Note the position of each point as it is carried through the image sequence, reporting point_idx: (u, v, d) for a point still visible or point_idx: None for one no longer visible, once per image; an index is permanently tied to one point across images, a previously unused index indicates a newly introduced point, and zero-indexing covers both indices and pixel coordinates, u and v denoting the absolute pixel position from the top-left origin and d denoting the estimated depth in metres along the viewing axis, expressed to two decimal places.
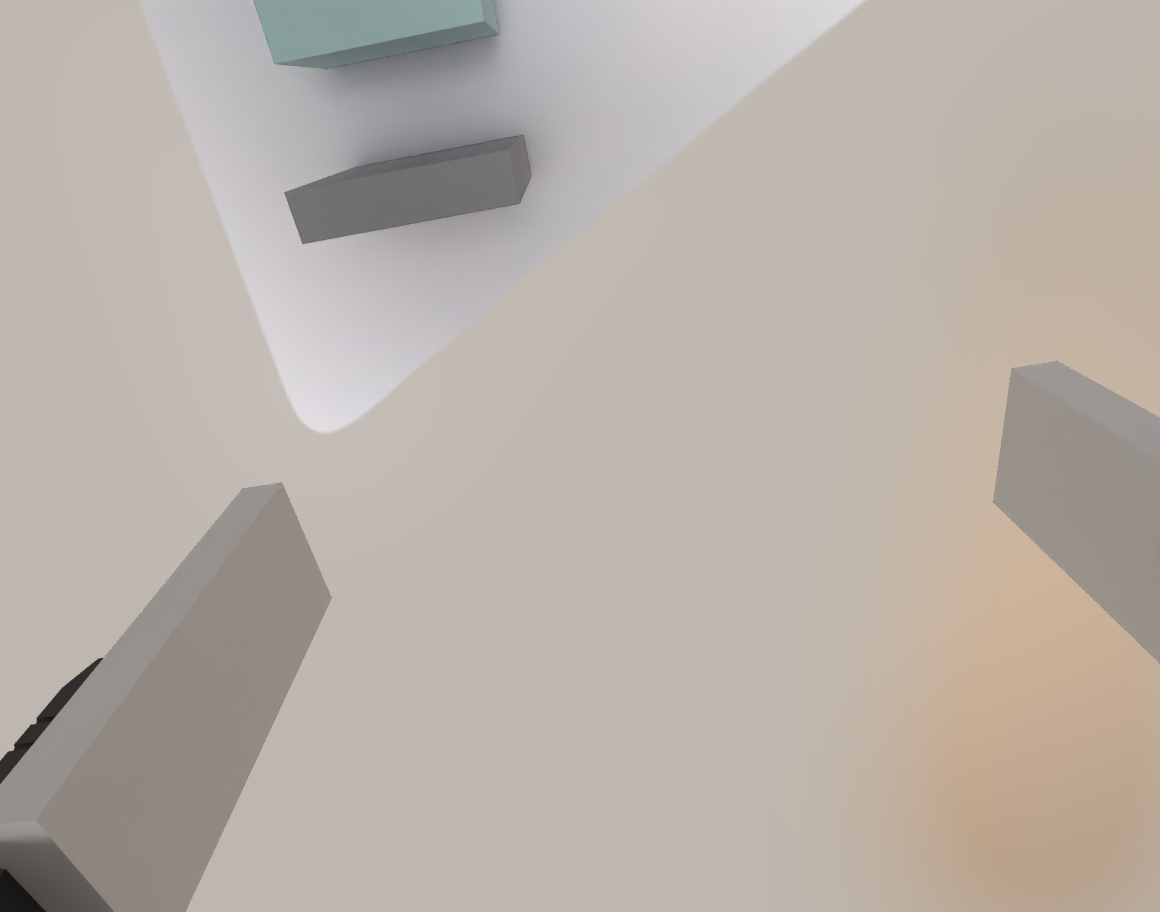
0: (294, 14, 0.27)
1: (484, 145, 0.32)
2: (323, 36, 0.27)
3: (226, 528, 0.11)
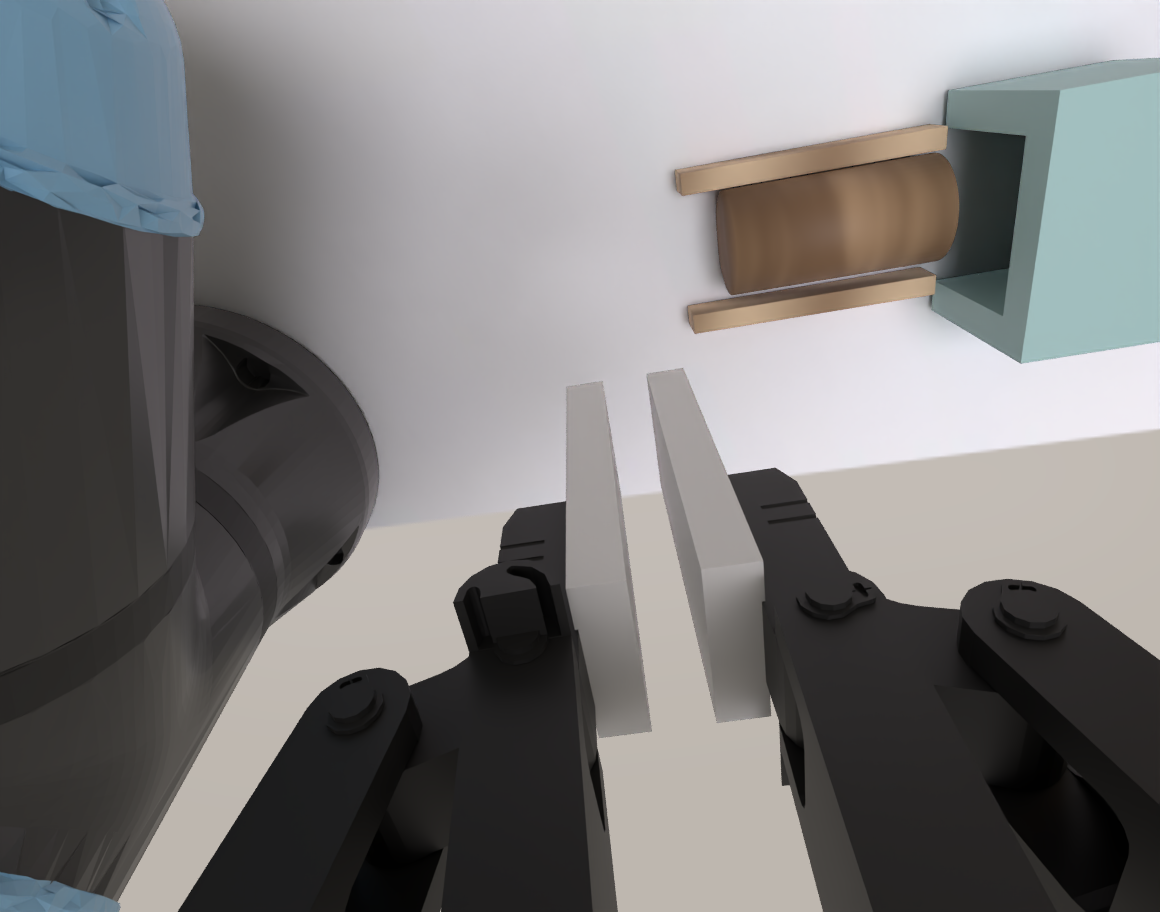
0: None
1: None
2: None
3: (583, 411, 0.13)
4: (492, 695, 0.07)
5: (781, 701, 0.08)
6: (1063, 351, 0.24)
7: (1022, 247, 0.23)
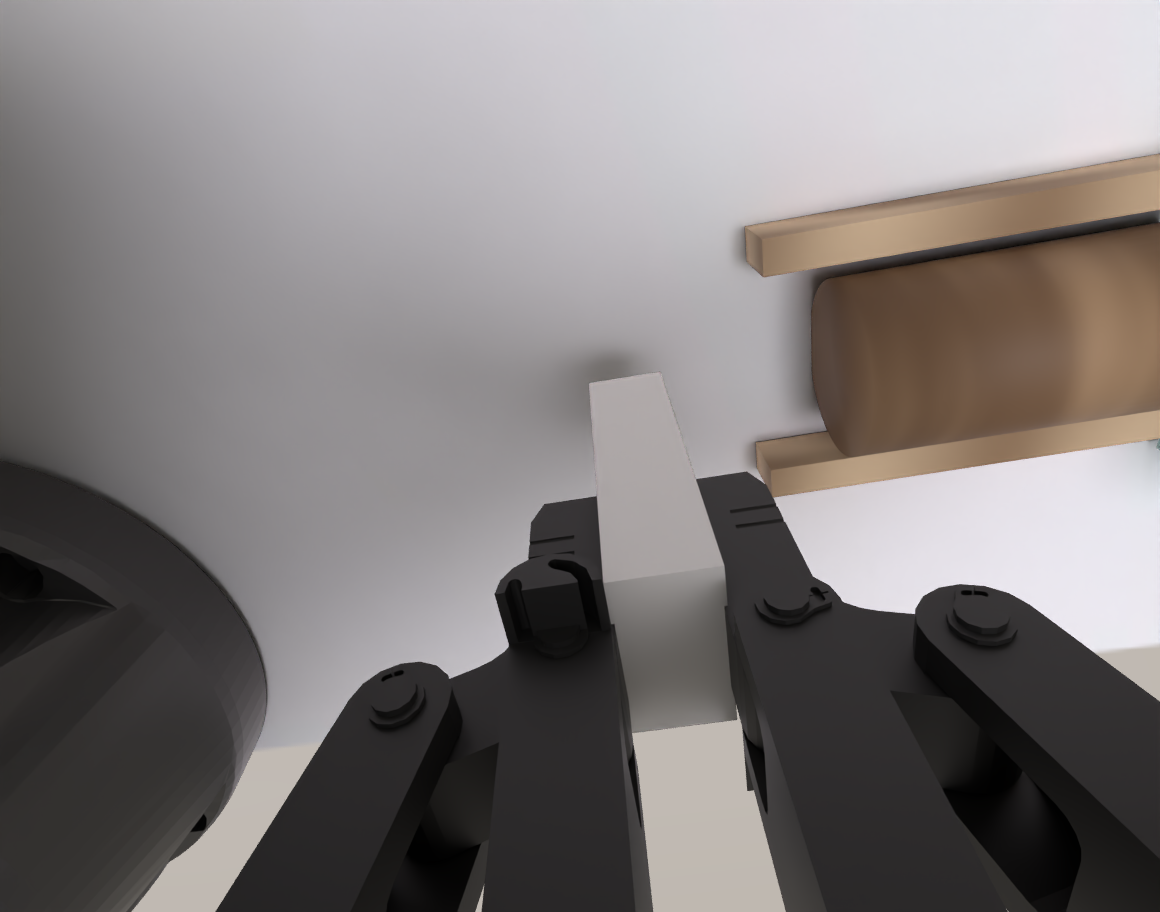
0: None
1: None
2: None
3: (608, 407, 0.13)
4: (532, 688, 0.07)
5: (743, 707, 0.08)
6: None
7: None
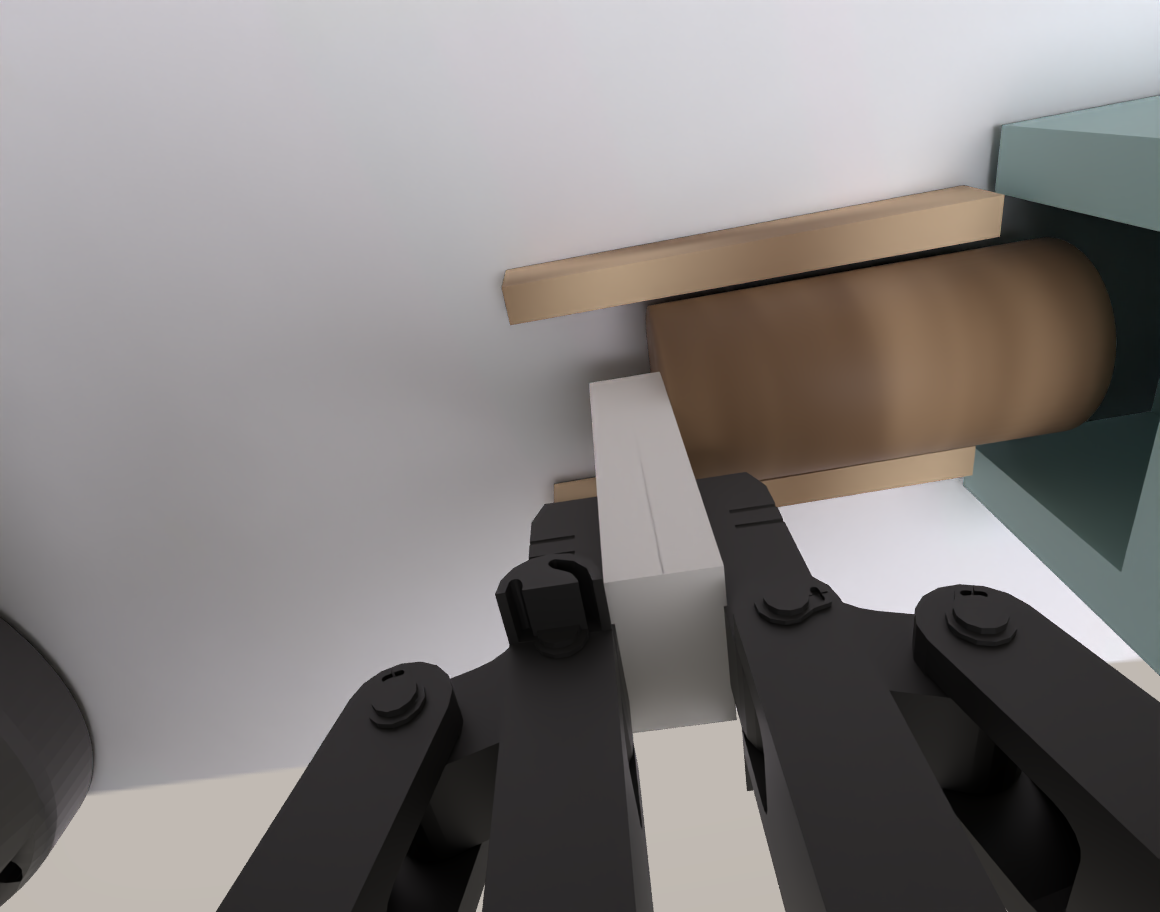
0: None
1: None
2: None
3: (608, 408, 0.13)
4: (533, 688, 0.07)
5: (743, 707, 0.08)
6: None
7: None
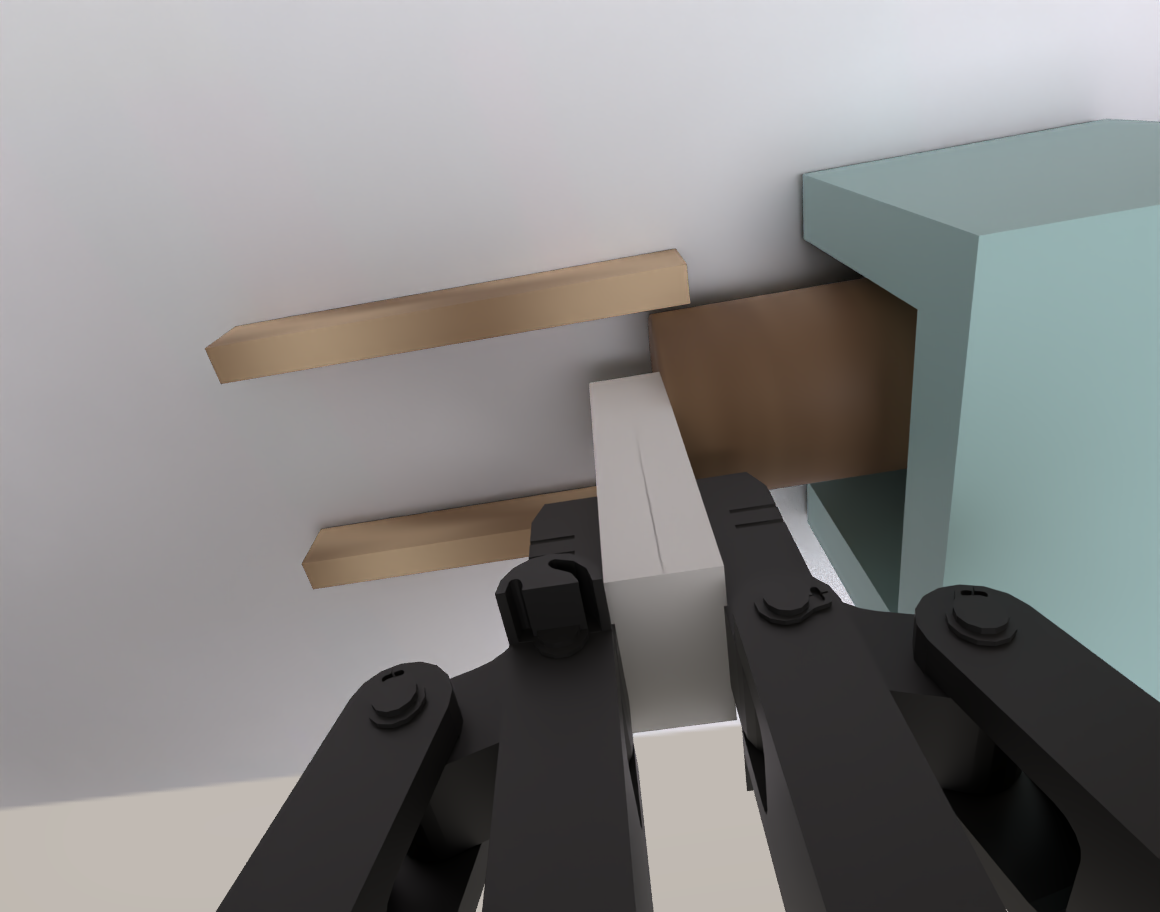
0: None
1: None
2: None
3: (608, 407, 0.13)
4: (532, 688, 0.07)
5: (743, 707, 0.08)
6: None
7: (920, 527, 0.11)
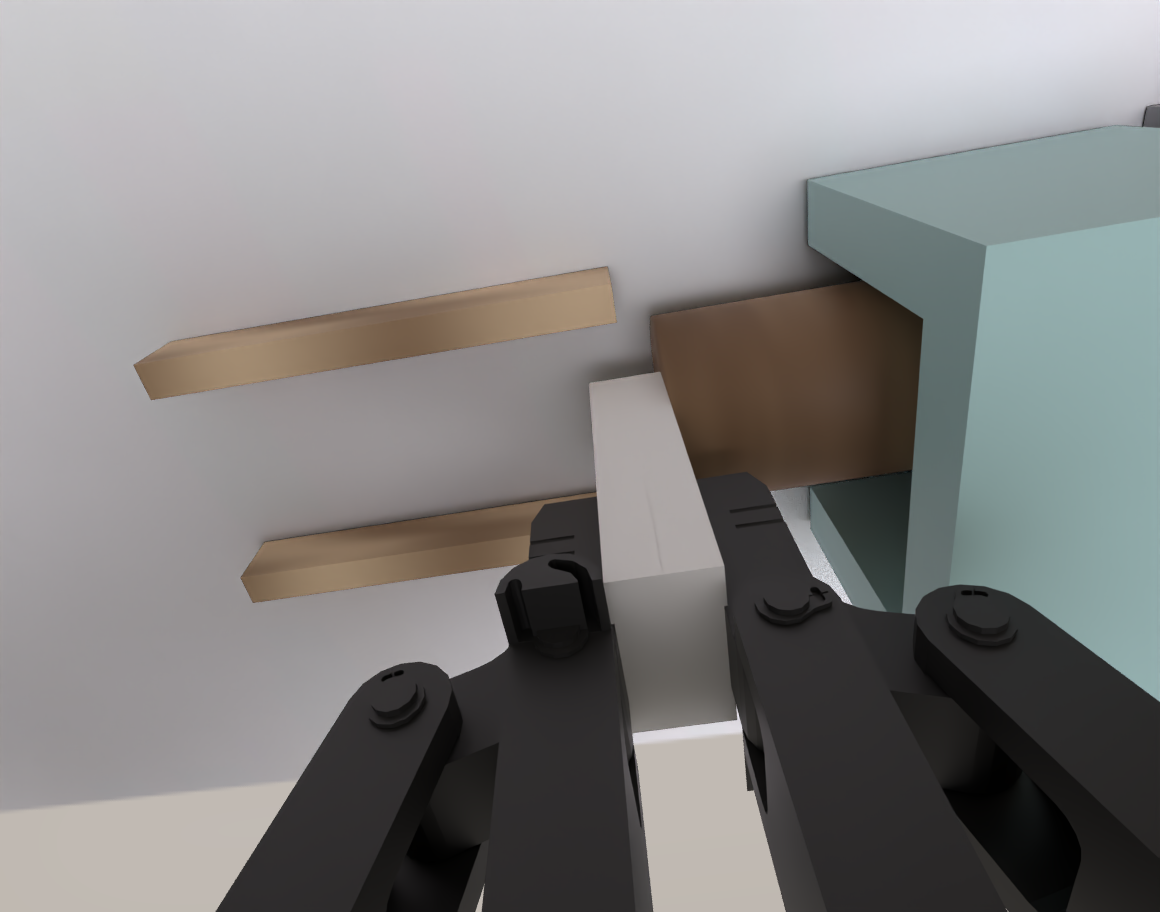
0: None
1: None
2: None
3: (608, 408, 0.13)
4: (532, 688, 0.07)
5: (743, 707, 0.08)
6: None
7: (925, 539, 0.11)
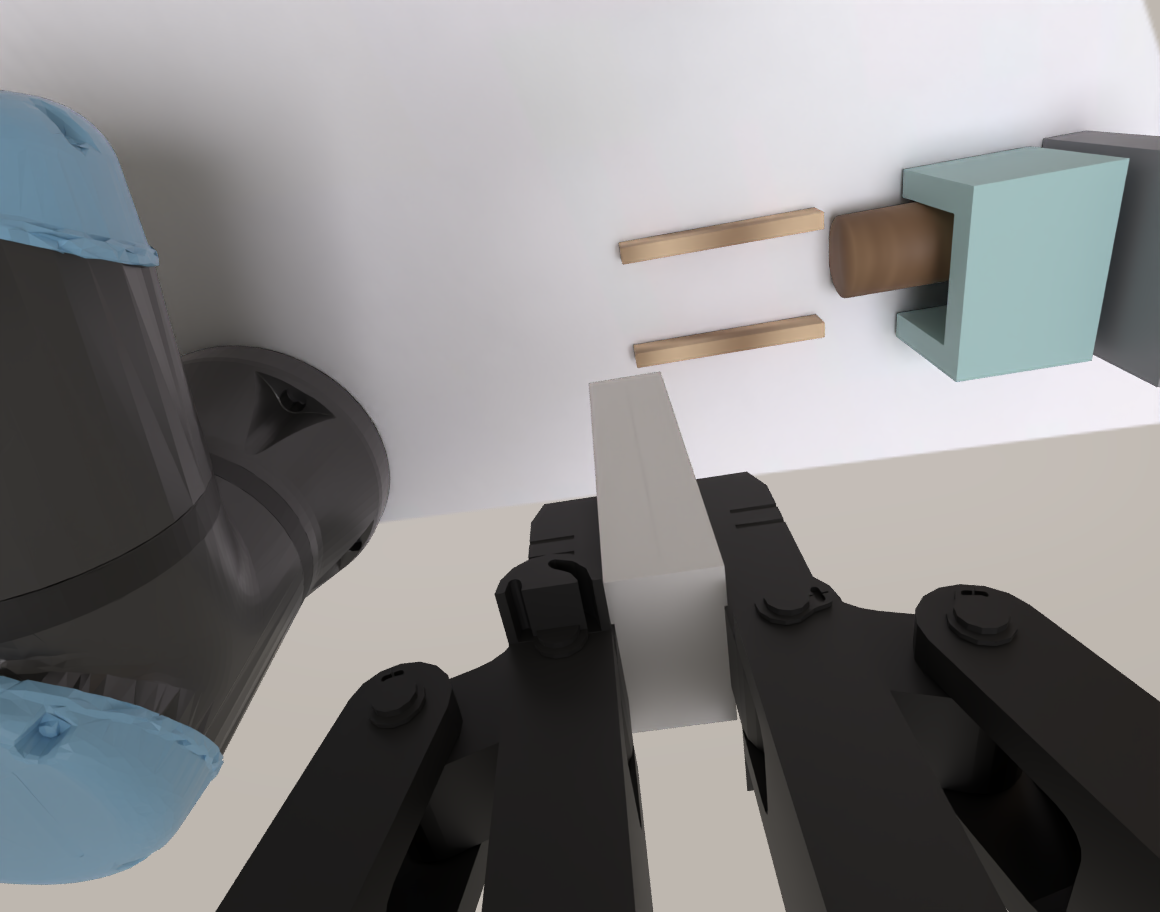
0: (1063, 337, 0.31)
1: None
2: (1086, 315, 0.30)
3: (607, 408, 0.13)
4: (532, 688, 0.07)
5: (743, 707, 0.08)
6: (988, 372, 0.31)
7: (954, 295, 0.31)
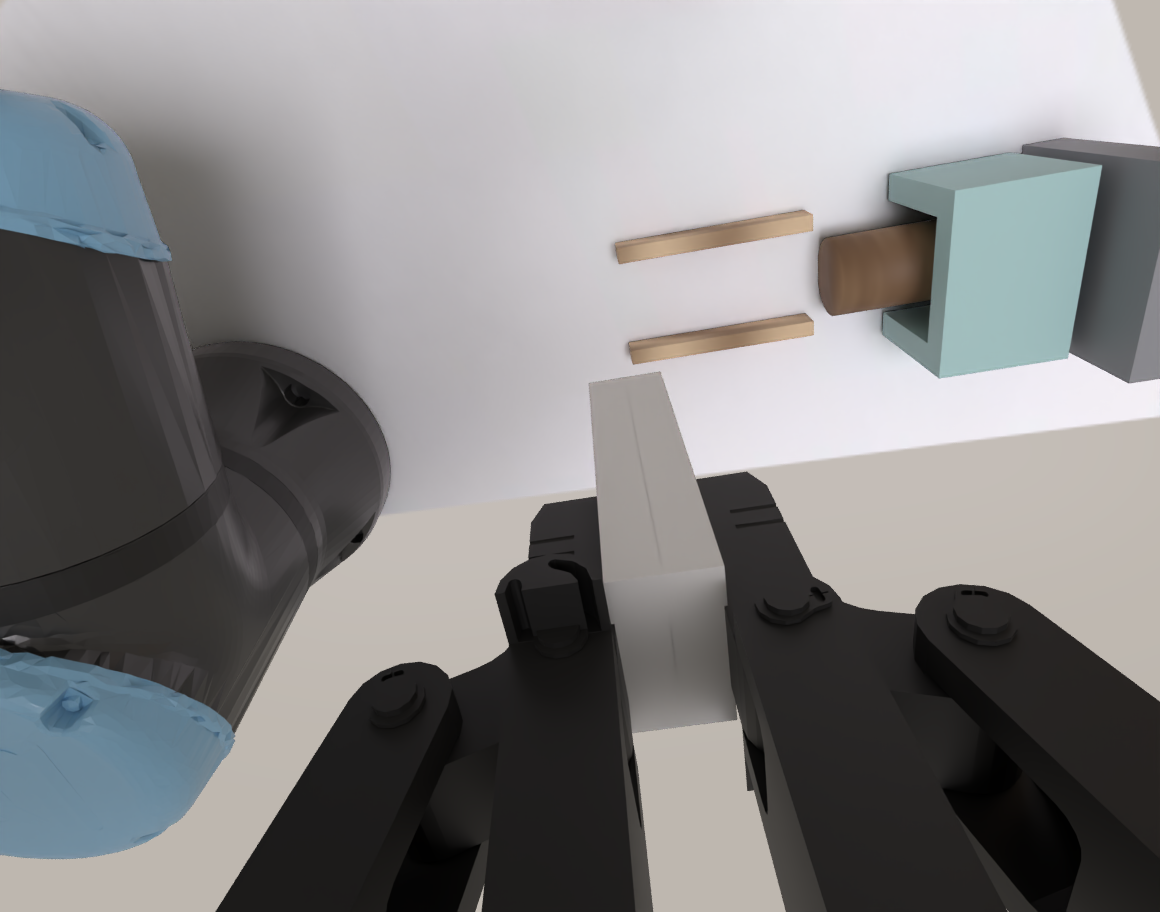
0: (1040, 335, 0.32)
1: None
2: (1063, 314, 0.32)
3: (607, 407, 0.13)
4: (532, 688, 0.07)
5: (743, 707, 0.08)
6: (969, 369, 0.33)
7: (937, 295, 0.32)
